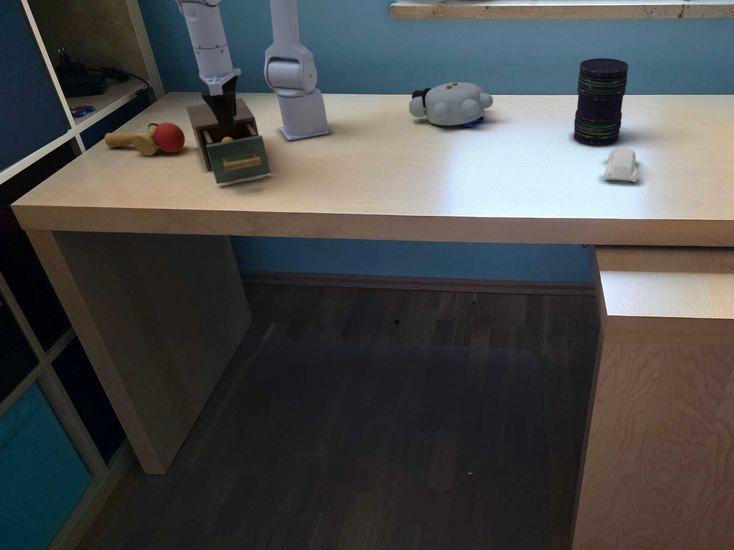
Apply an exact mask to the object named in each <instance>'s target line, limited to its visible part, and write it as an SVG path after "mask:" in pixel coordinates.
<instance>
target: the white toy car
mask: <svg viewBox="0 0 734 550" xmlns="http://www.w3.org/2000/svg"><path fill="white" fill-rule="evenodd" d="M636 161H637V155H636V152H635V151H634V149H631V148H626V147H622V148H621V147H617V148H616V147H615V148H614V149H611V151H610V152H609V153H608V157H607V165H606V167H605V171H604V175H603V176H604V181H610V180H621V181H627V182H628V181H629V182H632V183H637V182H638V178H639V169H638V167H637V166H636Z"/></svg>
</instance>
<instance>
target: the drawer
mask: <svg viewBox="0 0 734 550" xmlns="http://www.w3.org/2000/svg"><path fill="white" fill-rule="evenodd" d="M202 133H203V137H204V140H205V144H206V148H207V152H208V155H209V159H210V162H211V166H212V169H213V170H212V173H213V176H214V179H215V182H216V184H217V185H218V184H224V183H228V182H234V181H238V180H239V181H240V180H244V179H249V178H254V177H259V176H264V175H269V174H271V169H270V165H269V160H268V155H267V151H266V147H265V143H264V138H263V136H262V135H260V134H259V136H257V134H256V132H255V131H254V129H253V128H252V126H251V124H250V123H249V122H244V123H238V124H235V128H234V131H222V129H221V127H214V128H208V129H202ZM225 137H230V138H232V139H233V140H231V141H226V142H222V140H223V139H224V138H225Z"/></svg>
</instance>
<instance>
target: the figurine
mask: <svg viewBox="0 0 734 550" xmlns="http://www.w3.org/2000/svg"><path fill="white" fill-rule="evenodd" d="M493 104H494V98H493V97H492V95H491V94H489V93H486V92H485V89H484V88H482V87H481V86H479V85H477V84H475V83H471V82H461V81H459V82H458V81H453V82H447V83H444V84H440V85H437V86H435V87H433V88H431V87H426V88H424V89H423V90H420V89H416V90H414V91H413V92H412V95H411V100H410V101H409V103H408V109H409V110H408V111H409V113H410V115H411V116H413V117H414V118H424V117H425V114H426V118H427V121H428V122H429V123H430V124H433V125H438V126H457V125H462V126H463V127H465V128H466V127H467V128H472V127H473V126H474V124H475V123H477V122H484V121H485V116H484V113H485V110H486V109H490V108H491V107H492V106H493Z"/></svg>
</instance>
